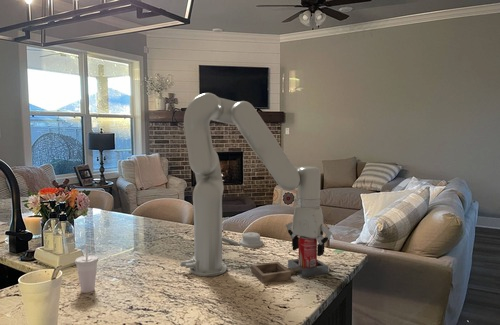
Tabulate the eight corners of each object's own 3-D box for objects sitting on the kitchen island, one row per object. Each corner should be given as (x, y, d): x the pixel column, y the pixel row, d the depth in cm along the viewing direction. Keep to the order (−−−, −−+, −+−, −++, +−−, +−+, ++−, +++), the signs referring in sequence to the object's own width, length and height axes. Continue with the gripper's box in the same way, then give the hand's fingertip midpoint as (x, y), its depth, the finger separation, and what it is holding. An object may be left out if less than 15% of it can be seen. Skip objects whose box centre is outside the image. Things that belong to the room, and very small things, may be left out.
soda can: (303, 274, 125) (303, 239, 124) (295, 268, 131) (295, 234, 130) (320, 271, 127) (320, 237, 126) (311, 265, 133) (311, 232, 132)
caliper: (197, 240, 164) (197, 226, 163) (198, 239, 165) (198, 225, 164) (239, 246, 156) (239, 231, 155) (240, 245, 157) (240, 230, 156)
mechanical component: (236, 247, 155) (260, 248, 153) (236, 236, 154) (260, 238, 152) (242, 240, 164) (264, 241, 162) (242, 230, 164) (265, 231, 162)
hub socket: (290, 279, 121) (291, 271, 121) (277, 268, 130) (277, 261, 130) (328, 273, 126) (328, 266, 126) (312, 263, 135) (312, 256, 135)
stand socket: (262, 283, 117) (262, 275, 117) (251, 272, 126) (251, 265, 126) (290, 279, 121) (291, 271, 121) (277, 268, 130) (277, 261, 130)
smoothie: (75, 296, 108) (74, 248, 107) (76, 287, 114) (74, 242, 112) (99, 292, 110) (98, 246, 109) (99, 284, 116) (97, 240, 115)
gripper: (281, 201, 129) (280, 249, 131) (326, 208, 118) (325, 260, 120) (293, 198, 135) (292, 244, 136) (337, 204, 124) (335, 254, 126)
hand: (307, 252), depth 128 cm, fingers open, 9 cm apart
